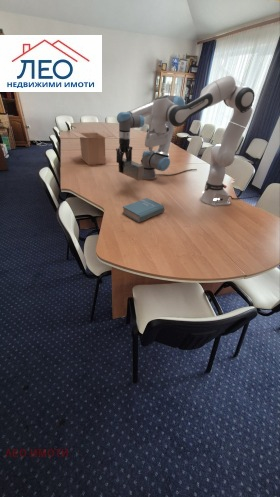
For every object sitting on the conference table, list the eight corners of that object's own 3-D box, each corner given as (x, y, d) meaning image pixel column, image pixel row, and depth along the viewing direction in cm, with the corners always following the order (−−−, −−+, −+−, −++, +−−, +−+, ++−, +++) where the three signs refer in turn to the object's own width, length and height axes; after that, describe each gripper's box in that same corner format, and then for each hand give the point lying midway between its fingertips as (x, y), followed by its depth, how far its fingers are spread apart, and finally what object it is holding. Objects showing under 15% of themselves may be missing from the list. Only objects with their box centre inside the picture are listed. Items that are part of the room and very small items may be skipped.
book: (146, 204, 158) (147, 197, 155) (163, 212, 149) (164, 206, 146) (122, 213, 145) (122, 206, 142) (139, 223, 136) (140, 216, 133)
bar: (118, 171, 169) (118, 159, 163) (123, 170, 172) (123, 158, 166) (137, 180, 156) (138, 166, 150) (143, 178, 159) (144, 165, 153)
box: (116, 165, 229) (116, 136, 213) (83, 168, 214) (80, 137, 198) (102, 154, 259) (101, 128, 243) (71, 156, 244) (68, 129, 228)
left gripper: (117, 140, 147) (117, 175, 160) (137, 137, 157) (136, 170, 171) (110, 138, 151) (111, 172, 165) (130, 136, 161) (130, 168, 175)
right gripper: (151, 131, 125) (149, 156, 134) (171, 128, 139) (168, 151, 147) (143, 129, 128) (141, 154, 137) (162, 126, 142) (160, 149, 150)
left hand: (124, 171), depth 168 cm, fingers closed on bar, 5 cm apart
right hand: (155, 153), depth 142 cm, fingers open, 8 cm apart
